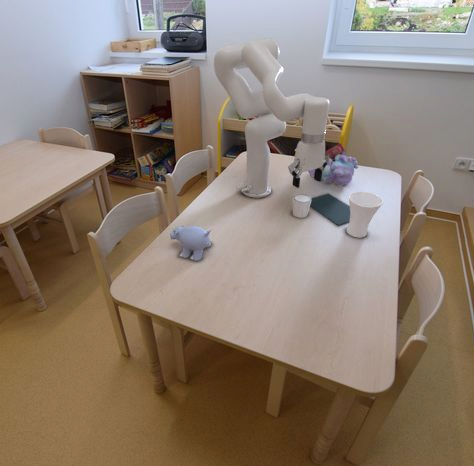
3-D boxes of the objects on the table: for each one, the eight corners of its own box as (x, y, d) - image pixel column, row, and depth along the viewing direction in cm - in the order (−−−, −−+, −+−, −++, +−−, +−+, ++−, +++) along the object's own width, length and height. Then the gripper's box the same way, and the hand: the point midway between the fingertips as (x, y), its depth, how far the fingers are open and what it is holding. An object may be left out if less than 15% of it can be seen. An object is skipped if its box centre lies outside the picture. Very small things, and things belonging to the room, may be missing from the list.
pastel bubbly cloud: (334, 186, 134) (356, 145, 130) (292, 168, 148) (311, 130, 143) (351, 195, 149) (372, 158, 145) (312, 178, 163) (330, 143, 158)
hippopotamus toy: (180, 235, 119) (177, 213, 114) (218, 244, 114) (217, 221, 108) (165, 253, 111) (161, 229, 106) (205, 263, 106) (203, 240, 100)
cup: (373, 227, 118) (383, 194, 110) (371, 244, 110) (382, 209, 103) (342, 221, 122) (350, 189, 114) (339, 237, 114) (347, 203, 106)
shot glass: (309, 210, 129) (312, 194, 125) (308, 219, 124) (311, 203, 120) (292, 208, 131) (294, 192, 127) (289, 217, 126) (291, 201, 122)
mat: (338, 225, 120) (338, 224, 120) (303, 201, 135) (303, 200, 135) (364, 216, 124) (365, 215, 124) (328, 194, 139) (328, 193, 139)
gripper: (325, 129, 116) (318, 174, 126) (284, 139, 111) (280, 185, 120) (340, 135, 110) (332, 182, 120) (298, 145, 105) (293, 193, 114)
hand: (306, 183), depth 120 cm, fingers open, 9 cm apart
